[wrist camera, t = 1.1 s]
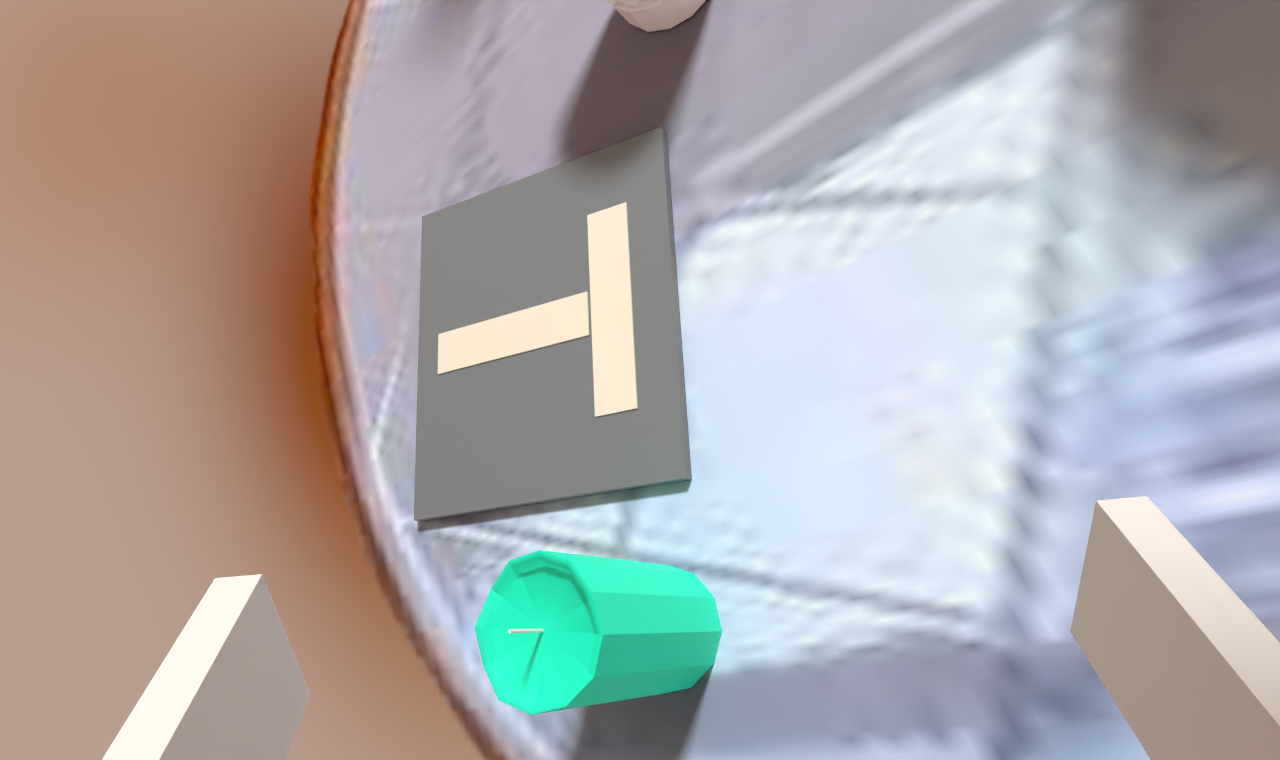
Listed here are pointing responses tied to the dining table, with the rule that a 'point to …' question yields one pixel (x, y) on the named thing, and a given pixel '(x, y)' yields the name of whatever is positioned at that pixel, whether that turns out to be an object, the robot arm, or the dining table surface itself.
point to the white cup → (656, 12)
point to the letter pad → (552, 338)
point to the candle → (594, 631)
